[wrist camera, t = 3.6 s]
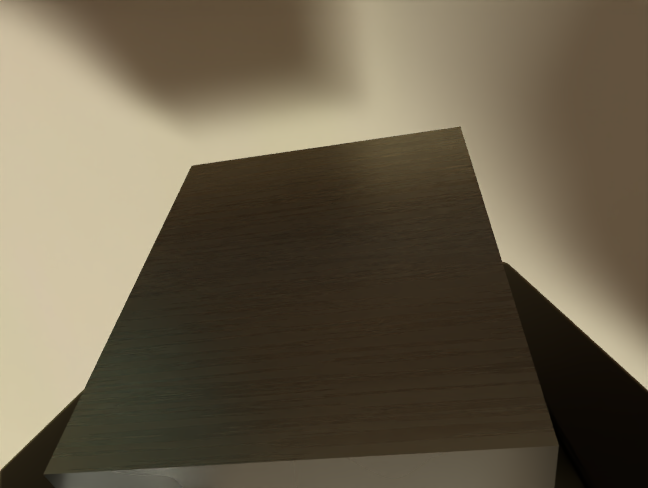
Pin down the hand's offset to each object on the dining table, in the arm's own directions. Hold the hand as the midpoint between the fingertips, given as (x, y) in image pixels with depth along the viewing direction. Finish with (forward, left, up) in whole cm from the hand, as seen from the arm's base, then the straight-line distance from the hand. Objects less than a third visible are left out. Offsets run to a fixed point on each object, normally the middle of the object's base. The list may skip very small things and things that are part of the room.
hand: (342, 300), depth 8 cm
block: (0, 0, -1) cm, 1 cm away
